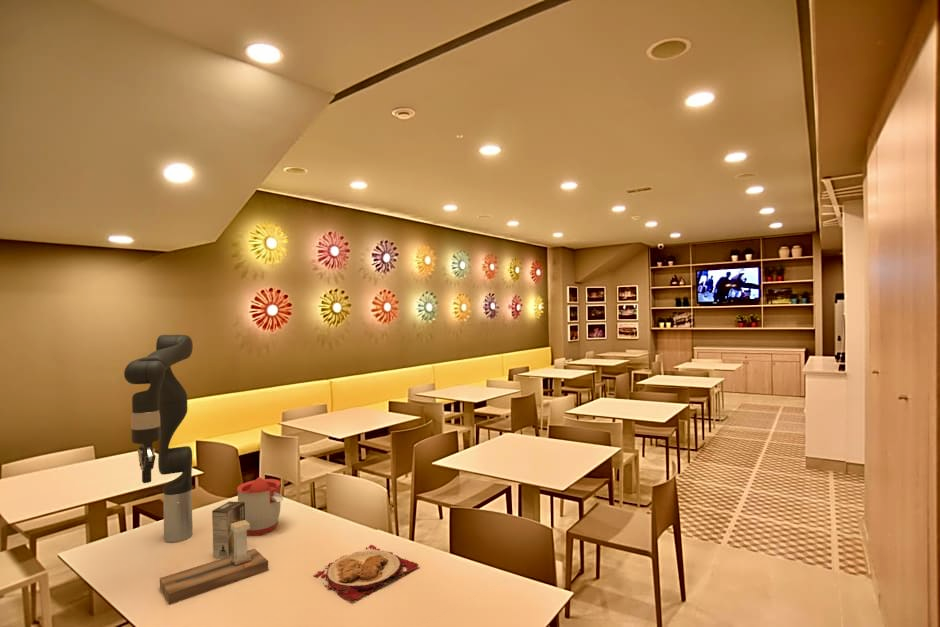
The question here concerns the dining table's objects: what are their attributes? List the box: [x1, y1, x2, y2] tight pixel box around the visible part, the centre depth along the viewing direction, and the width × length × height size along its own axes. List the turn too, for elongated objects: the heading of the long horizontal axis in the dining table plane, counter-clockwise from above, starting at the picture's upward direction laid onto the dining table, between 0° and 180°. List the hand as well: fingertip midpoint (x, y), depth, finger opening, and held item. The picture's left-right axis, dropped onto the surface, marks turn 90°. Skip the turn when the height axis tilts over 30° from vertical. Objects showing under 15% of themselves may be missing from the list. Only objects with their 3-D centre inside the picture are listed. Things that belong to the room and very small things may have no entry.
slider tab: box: [230, 520, 251, 565], centre depth 163 cm, size 5×5×12 cm
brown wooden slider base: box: [159, 548, 269, 605], centre depth 158 cm, size 12×28×3 cm, turn 132°
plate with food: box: [312, 544, 419, 601], centre depth 162 cm, size 25×26×4 cm
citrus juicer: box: [236, 477, 284, 536], centre depth 194 cm, size 16×17×20 cm
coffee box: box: [211, 500, 245, 559], centre depth 176 cm, size 9×6×16 cm
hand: (146, 482), depth 156 cm, fingers closed
